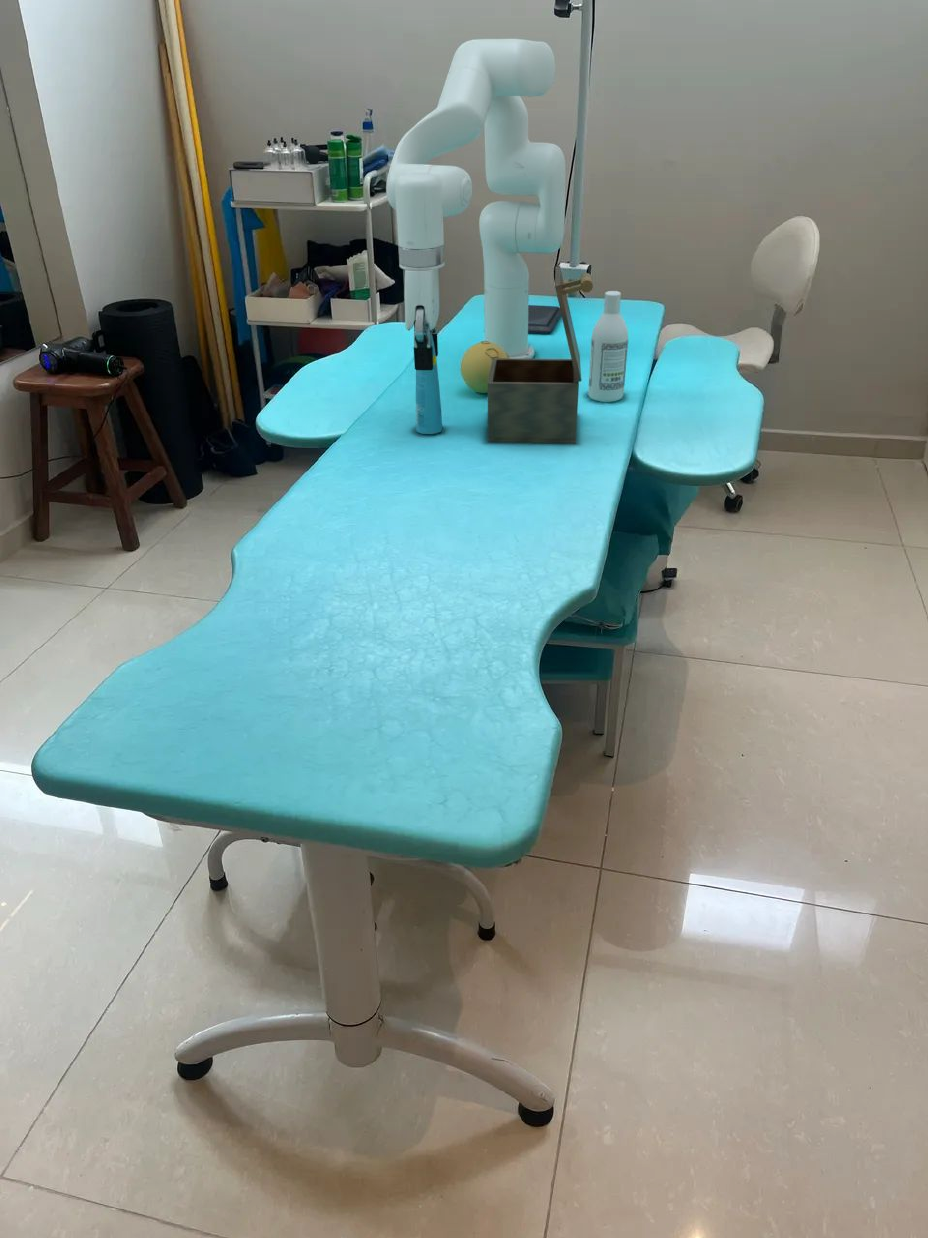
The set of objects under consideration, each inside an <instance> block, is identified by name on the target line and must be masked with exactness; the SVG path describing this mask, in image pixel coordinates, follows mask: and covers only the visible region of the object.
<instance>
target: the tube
mask: <svg viewBox="0 0 928 1238" xmlns="http://www.w3.org/2000/svg"><path fill="white" fill-rule="evenodd" d="M424 328H428V326H427V325H424ZM432 332H433V330H431V346H432V347H433V370H415V430H416V432H417V433H419V434H421V435H434V434H435V435H436V434H439V433H440V432H442V430H443V420H442V419H443V418H442V417H443V415H442V405H441V404H442V403H441V391H440V382H439V371H438V370H439V369H438V363H437V357H436V354H435V347H434V342H433V337H432ZM424 335H426V337H427V333H424Z"/></svg>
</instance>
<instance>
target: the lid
mask: <svg viewBox="0 0 928 1238" xmlns="http://www.w3.org/2000/svg"><path fill="white" fill-rule="evenodd" d="M554 271H555V272H554V288H555V293H556V297H557V302H558V307H559V308H560V311H561V319H562V324H563V328H564V333H565V337H566V341H567V346H568V350H569V355H570V359H572V364H573V368H574V372H575V377H576V381H577V382H579V383H580V382H582V370H581V367H582V366H581V354H580V350H579V346H578V345H579V344H578V340H577V336H576V331H575V327H574V322H573V318H572V314H571V310H570V304H569V301H568V300H569V299H568V295H567V294H572V293H575V292H578V291H582V292H583V293H587V294H588V293H590V292H591V291H592V290H593V288H594V284H593V277H592V274H590V273H588V272H584V273H583V274H581V275H580V278H578V279H573V280H570V281H567V282H565V281H564V278H563V274H562V273H563V272H562V268H561V265H560V264H559V265H556V266H555V268H554Z"/></svg>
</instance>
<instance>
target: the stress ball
mask: <svg viewBox="0 0 928 1238" xmlns="http://www.w3.org/2000/svg"><path fill="white" fill-rule="evenodd" d="M493 358H509V357H508V355H507V353H505V352H504V350H503V349H502V348H500V347H499V346H498V345H496V344H493V343H490V342H489V341H485V340H482V341H480V342H478V343H475V344H473V345H471V346H470V347H469V348H468V349H467V350H466V351H465V352H464V354H463V356H462V358H461V361H460V375H461V378H462V380H463V382H464V383H465V385H466V386H467V387H468V388H469V389H471V390H472V391H474V392H476V393H478V394H488V379H489V374H490V369H491V364H492V359H493Z"/></svg>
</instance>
